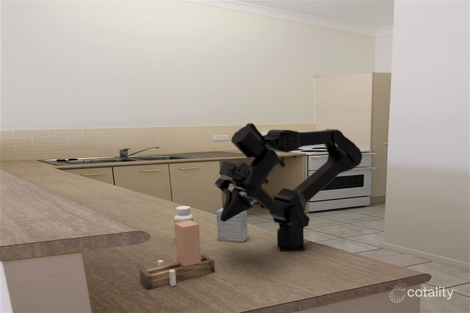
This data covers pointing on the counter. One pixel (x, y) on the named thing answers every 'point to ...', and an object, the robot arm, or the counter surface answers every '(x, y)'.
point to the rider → (187, 243)
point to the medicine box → (232, 227)
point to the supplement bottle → (182, 215)
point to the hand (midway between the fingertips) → (221, 220)
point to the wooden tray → (161, 274)
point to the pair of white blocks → (171, 273)
